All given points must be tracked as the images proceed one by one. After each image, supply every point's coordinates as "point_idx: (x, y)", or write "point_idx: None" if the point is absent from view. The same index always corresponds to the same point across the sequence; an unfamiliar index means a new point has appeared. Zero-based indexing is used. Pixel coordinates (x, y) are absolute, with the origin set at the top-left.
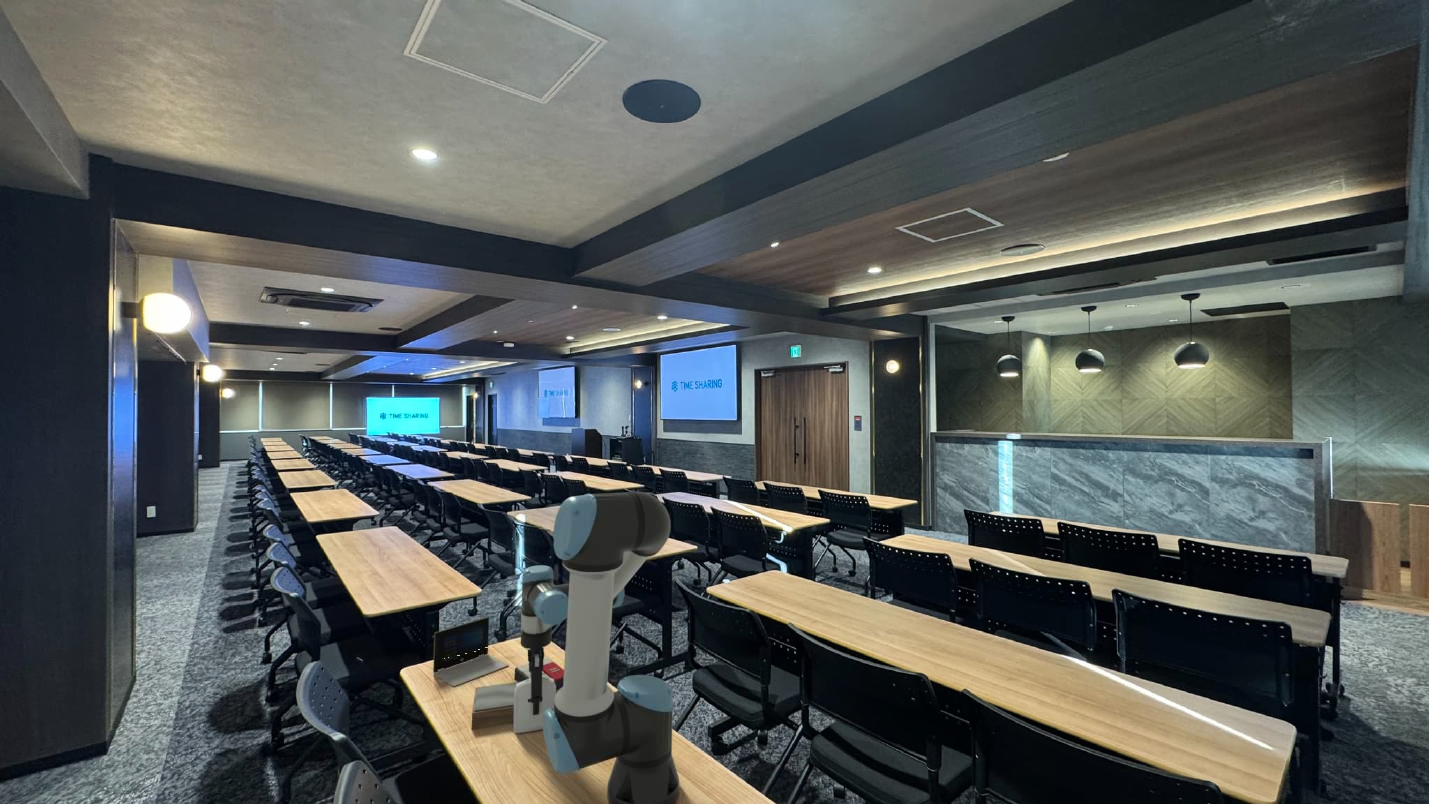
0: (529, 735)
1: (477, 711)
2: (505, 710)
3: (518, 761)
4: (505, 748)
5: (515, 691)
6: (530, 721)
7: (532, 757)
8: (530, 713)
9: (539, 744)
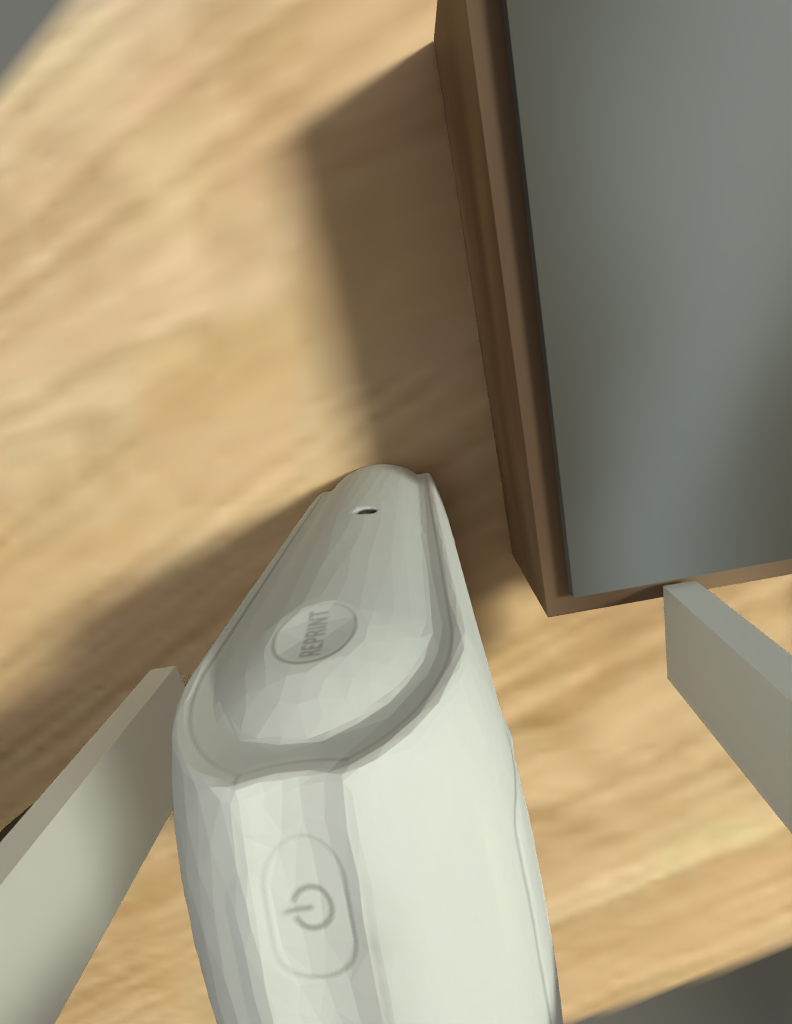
0: None
1: None
2: (511, 371)
3: (3, 573)
4: (139, 455)
5: (248, 685)
6: (119, 713)
7: (57, 645)
8: (61, 780)
9: (198, 662)
